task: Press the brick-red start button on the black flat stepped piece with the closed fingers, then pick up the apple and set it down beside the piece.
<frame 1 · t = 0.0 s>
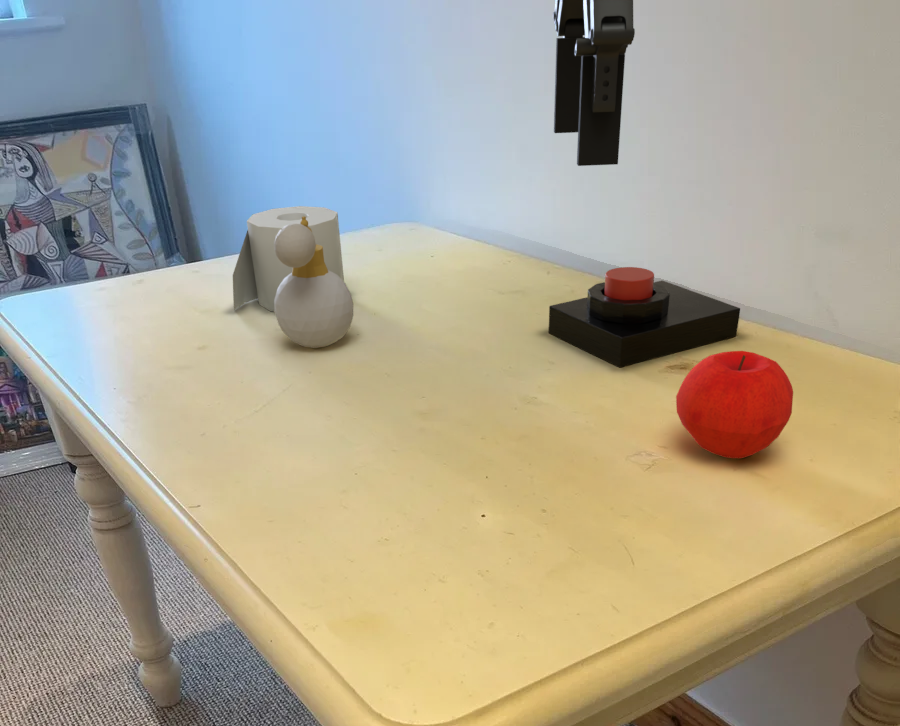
hand: (583, 147, 70), 19 cm above the table, tool pointing down, fingers open, 13 cm apart
toilet tissue: (290, 303, 102), on the table
perfume bottle: (320, 348, 90), on the table
start button: (628, 284, 86), point 5 cm above the table, slide at 0.1 cm
black flat stepped piece: (641, 334, 90), on the table
apple: (726, 453, 69), on the table
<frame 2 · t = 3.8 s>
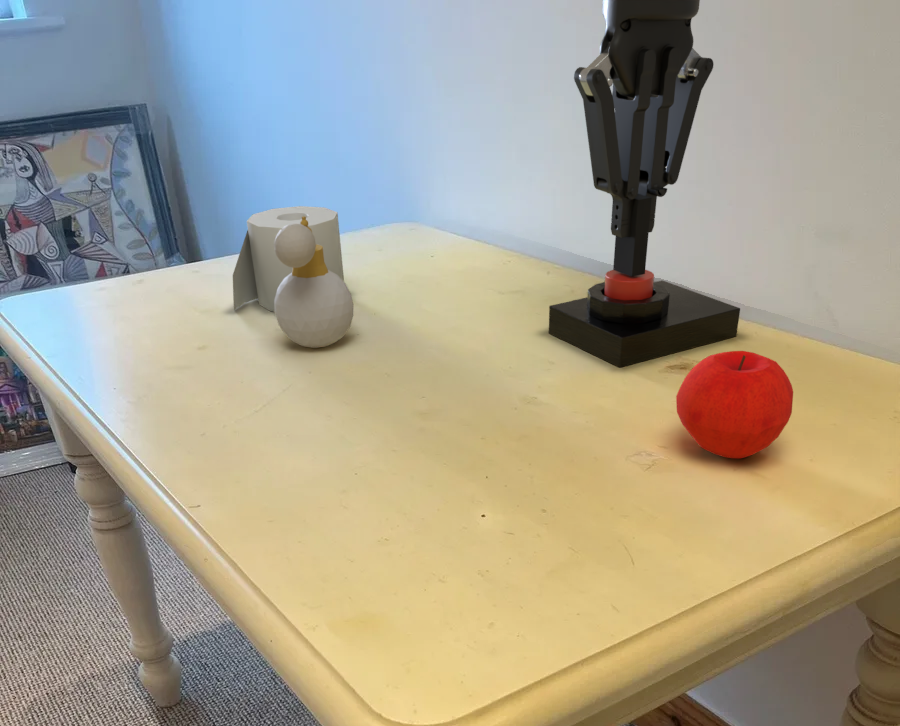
hand: (628, 271, 85), 6 cm above the table, tool pointing down, fingers closed
start button: (628, 285, 86), point 5 cm above the table, slide at 0.0 cm, touching gripper
everything else where it was.
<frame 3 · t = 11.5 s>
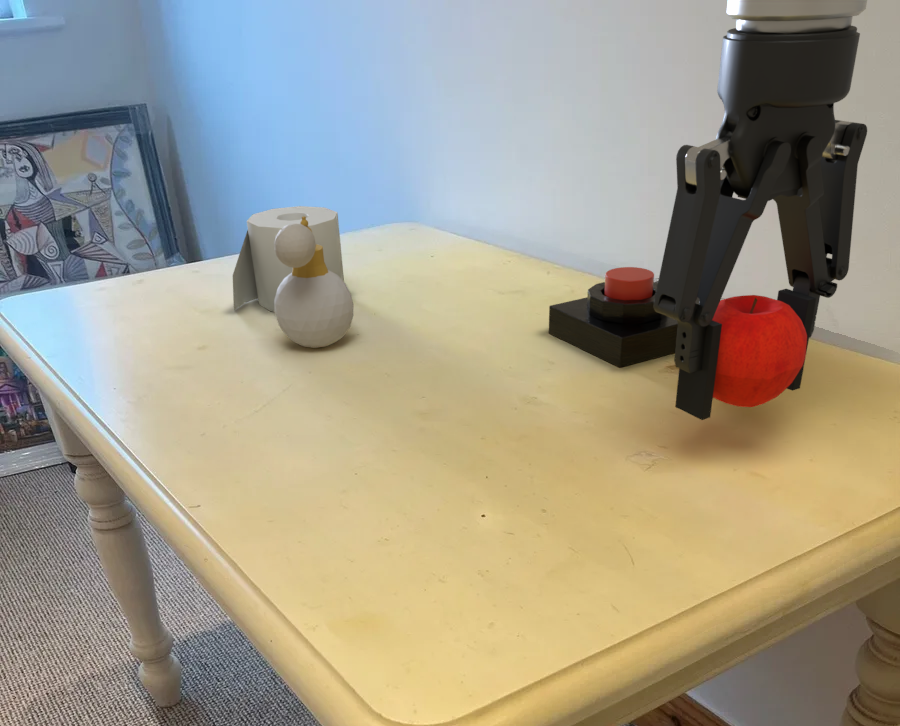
hand: (738, 397, 67), 4 cm above the table, tool pointing down, fingers closed on apple, 8 cm apart
start button: (628, 284, 86), point 5 cm above the table, slide at 0.1 cm
apple: (737, 403, 67), point 4 cm above the table, touching gripper
everything else where it was.
when the fingers open (0 cm above the table, at t = 17.4 s): apple stays where it is, on the table.
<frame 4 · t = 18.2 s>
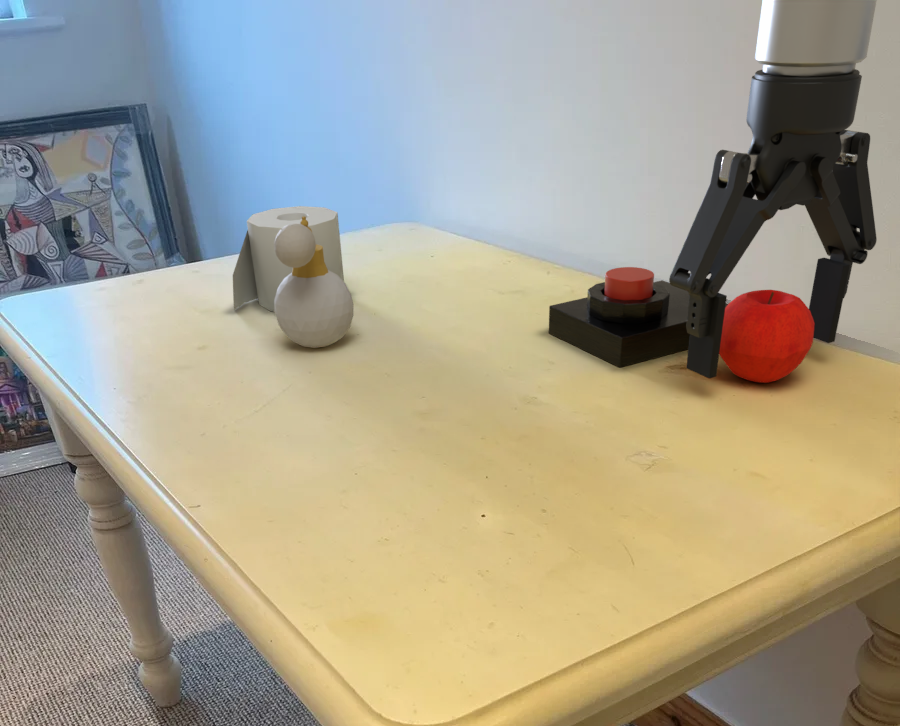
hand: (761, 355, 79), 2 cm above the table, tool pointing down, fingers open, 13 cm apart
apple: (755, 380, 80), on the table
everything else where it was.
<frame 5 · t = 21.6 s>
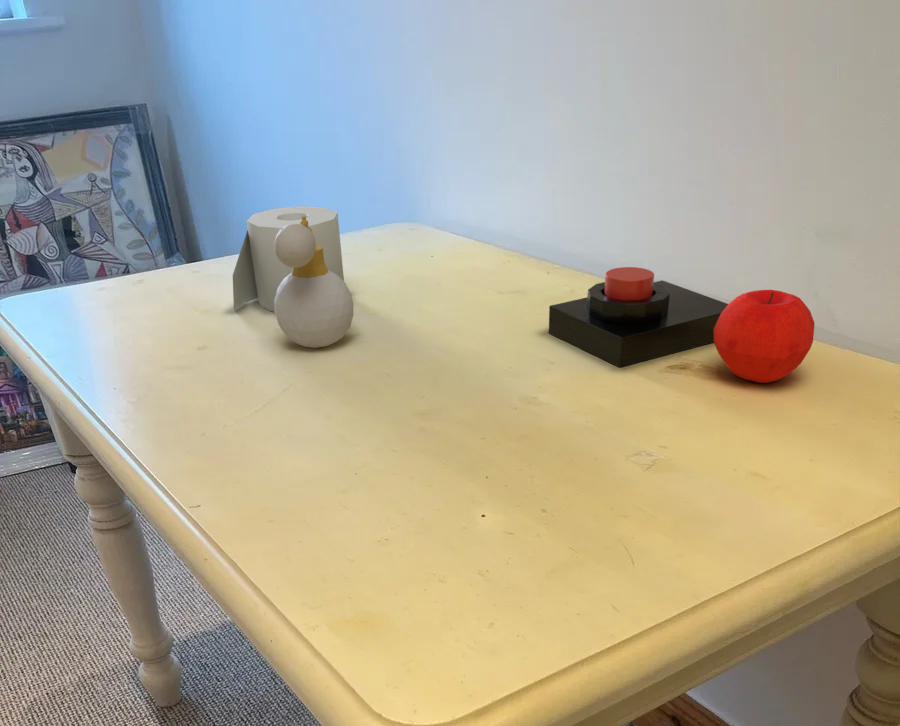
nothing on the table moved.
at the end: start button pushed in 1.0 cm at the most during the clip, back to where it started at the end; start button slide at 0.1 cm; apple inside the target area on the table beside the black flat stepped piece (0.0 cm from its centre), on the table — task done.
